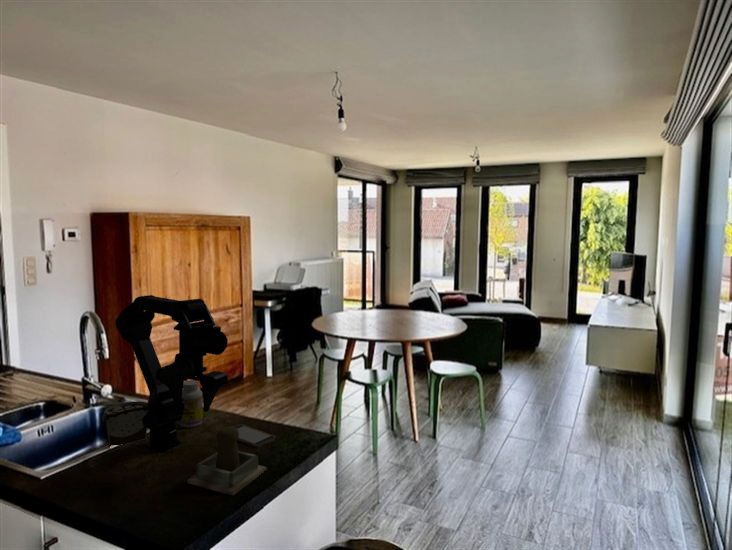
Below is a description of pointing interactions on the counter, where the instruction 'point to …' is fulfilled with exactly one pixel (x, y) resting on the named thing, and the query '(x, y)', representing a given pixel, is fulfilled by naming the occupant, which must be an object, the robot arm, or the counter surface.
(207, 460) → the collar holder
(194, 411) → the supplement bottle
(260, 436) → the smartphone
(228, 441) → the cork
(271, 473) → the counter surface
